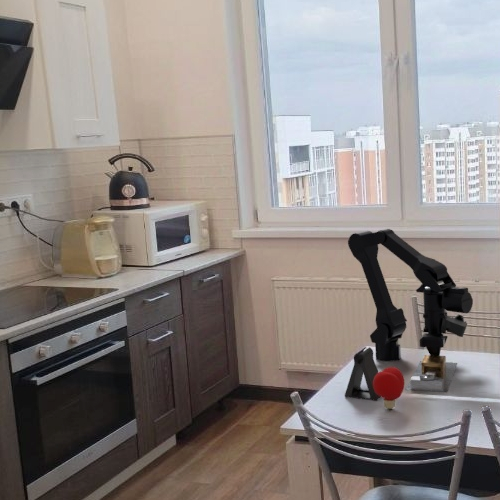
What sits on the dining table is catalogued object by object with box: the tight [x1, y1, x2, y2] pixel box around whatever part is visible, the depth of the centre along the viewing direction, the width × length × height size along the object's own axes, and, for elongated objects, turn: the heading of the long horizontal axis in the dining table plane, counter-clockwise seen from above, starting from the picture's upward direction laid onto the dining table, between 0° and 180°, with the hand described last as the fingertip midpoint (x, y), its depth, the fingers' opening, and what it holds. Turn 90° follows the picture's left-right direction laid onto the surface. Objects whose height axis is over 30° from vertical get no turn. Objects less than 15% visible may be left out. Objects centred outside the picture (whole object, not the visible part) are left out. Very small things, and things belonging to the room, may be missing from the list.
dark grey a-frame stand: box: [344, 346, 382, 402], centre depth 193 cm, size 9×6×12 cm, turn 59°
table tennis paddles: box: [373, 366, 405, 411], centre depth 182 cm, size 9×7×10 cm
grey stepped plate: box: [405, 360, 458, 395], centre depth 203 cm, size 10×25×4 cm, turn 159°
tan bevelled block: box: [421, 354, 447, 378], centre depth 204 cm, size 6×7×4 cm
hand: (436, 363), depth 209 cm, fingers closed
